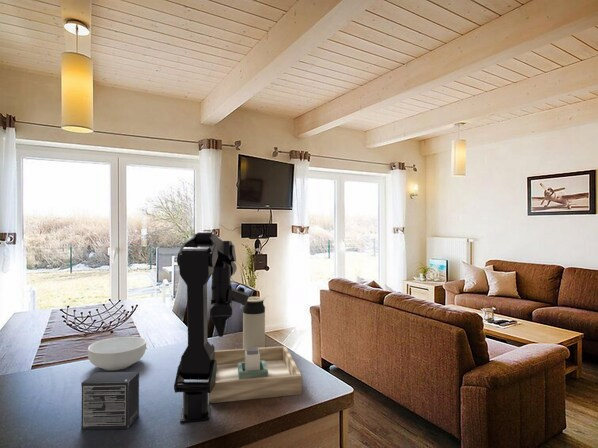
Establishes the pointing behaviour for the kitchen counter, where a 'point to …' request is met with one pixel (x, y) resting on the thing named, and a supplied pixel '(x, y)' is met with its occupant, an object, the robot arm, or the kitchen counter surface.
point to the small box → (110, 400)
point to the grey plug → (252, 359)
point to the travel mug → (254, 323)
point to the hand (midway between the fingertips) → (220, 332)
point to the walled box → (255, 375)
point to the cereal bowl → (116, 352)
